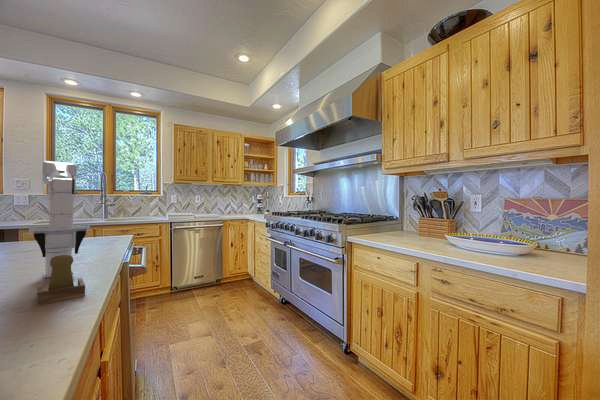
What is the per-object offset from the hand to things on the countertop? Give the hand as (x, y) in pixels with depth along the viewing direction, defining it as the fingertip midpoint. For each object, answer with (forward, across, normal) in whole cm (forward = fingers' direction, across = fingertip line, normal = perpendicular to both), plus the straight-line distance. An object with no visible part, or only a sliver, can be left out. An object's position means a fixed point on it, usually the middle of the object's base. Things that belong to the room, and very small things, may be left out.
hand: (60, 254), depth 83 cm
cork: (+10, 0, -10) cm, 14 cm away
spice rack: (+10, 0, -11) cm, 15 cm away
